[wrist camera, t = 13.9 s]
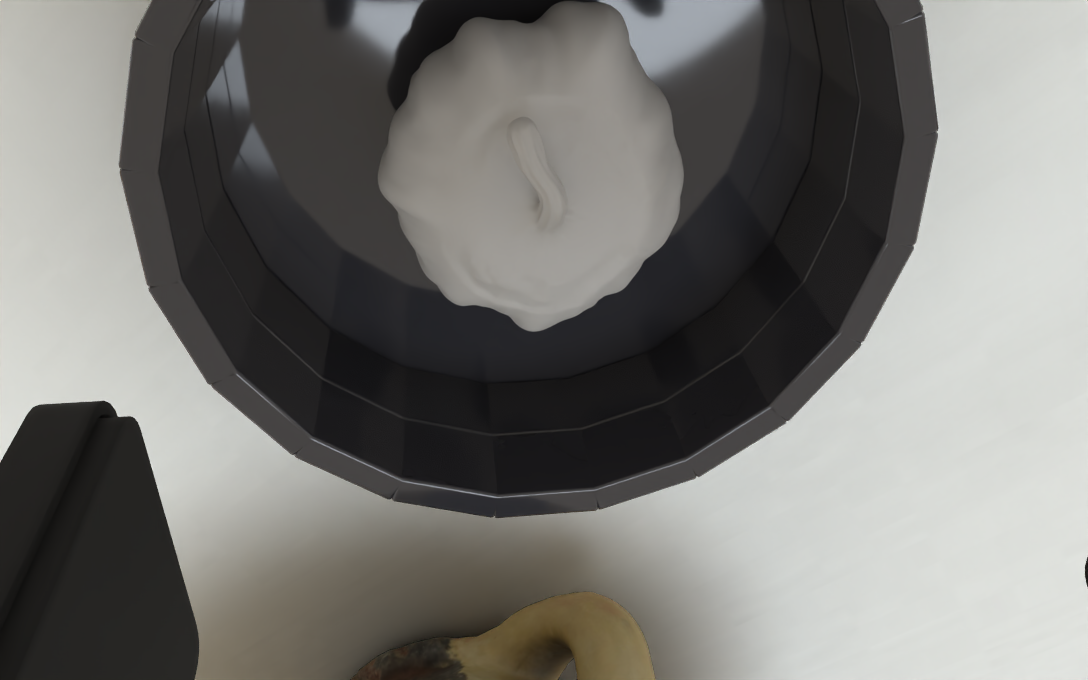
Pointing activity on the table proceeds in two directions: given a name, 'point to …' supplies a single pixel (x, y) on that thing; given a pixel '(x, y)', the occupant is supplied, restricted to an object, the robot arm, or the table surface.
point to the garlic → (534, 164)
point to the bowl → (530, 647)
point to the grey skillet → (481, 332)
